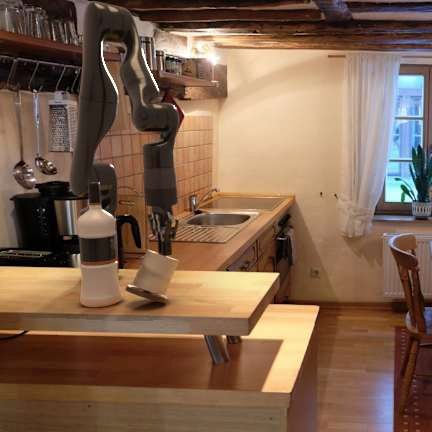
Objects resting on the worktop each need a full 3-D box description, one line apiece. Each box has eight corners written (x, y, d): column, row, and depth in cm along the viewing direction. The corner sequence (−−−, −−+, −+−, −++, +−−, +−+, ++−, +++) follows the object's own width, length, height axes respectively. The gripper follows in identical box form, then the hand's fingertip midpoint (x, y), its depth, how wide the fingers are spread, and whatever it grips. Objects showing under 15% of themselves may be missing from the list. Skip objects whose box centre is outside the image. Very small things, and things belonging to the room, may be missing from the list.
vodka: (76, 301, 140) (68, 181, 136) (116, 294, 146) (109, 179, 141) (85, 310, 133) (76, 184, 128) (126, 303, 139) (119, 182, 134)
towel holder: (156, 296, 145) (119, 286, 138) (180, 238, 148) (145, 225, 141) (172, 305, 138) (134, 295, 131) (198, 244, 141) (161, 231, 134)
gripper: (187, 186, 135) (191, 256, 138) (163, 182, 145) (168, 247, 148) (156, 189, 130) (161, 262, 133) (134, 184, 139) (139, 252, 142)
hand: (165, 254), depth 140 cm, fingers closed on towel holder, 2 cm apart
